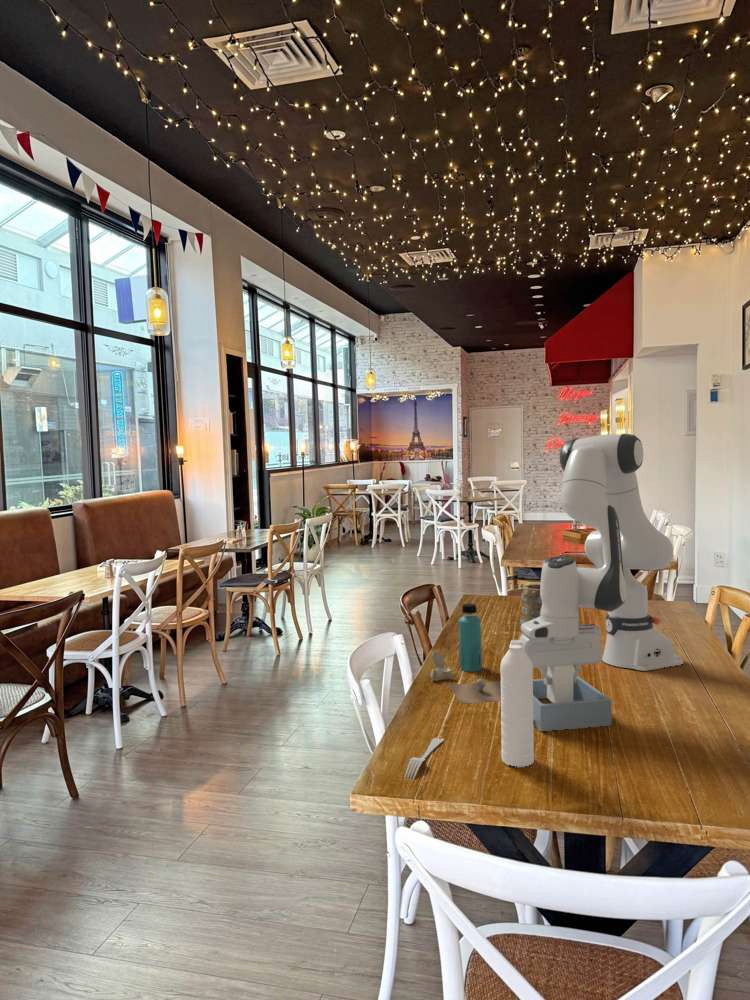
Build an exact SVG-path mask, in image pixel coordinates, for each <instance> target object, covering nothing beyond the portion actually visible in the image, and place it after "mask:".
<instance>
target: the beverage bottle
mask: <svg viewBox="0 0 750 1000" xmlns="http://www.w3.org/2000/svg"><path fill="white" fill-rule="evenodd" d="M461 607H462V609H461V613H462V614H463V615H462V616H460V618H459V619H458V645H459V646H458V650H459V652H458V655H459V658H458V659H459V660H458V661H459V668H460V670H462V671H463V672H468V673H469V672H470V673H473V672H479V671H481V670H482V668H483V653H482V649H483V646H482V631H481V629H482V627H481V625H482V624H481V621H482V620H481V619H480V617H478V616H477V615H475V613H477V605H476V604H475V603H464V604H462V606H461ZM464 614H465V615H464Z"/></svg>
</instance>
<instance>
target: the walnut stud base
mask: <svg viewBox="0 0 750 1000" xmlns="http://www.w3.org/2000/svg"><path fill="white" fill-rule="evenodd" d="M447 687H448V688H449V689H450V690H451V692H452V693H453V694H454V696H455V697H456V698H457V699H458V701H459V703H460V704H461V705H465V704H467V705H469V704H479V703H490V702H501V682H500V681H499V680H496V681H495V680H494V681H493V680H491V681H485V680H484V679H482V678H478V679H477V680H476V681H475V682H467V683H457V684H456V683H455V684H447Z"/></svg>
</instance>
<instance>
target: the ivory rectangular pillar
mask: <svg viewBox="0 0 750 1000" xmlns="http://www.w3.org/2000/svg"><path fill="white" fill-rule="evenodd" d="M573 668H574V666H573V665H560V666H553V667H548V671H546V673H547V675H548V676H550V677H552V685H547V698H546V699H547V700H549V701H550V703H561V702H573Z"/></svg>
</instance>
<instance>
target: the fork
mask: <svg viewBox="0 0 750 1000" xmlns="http://www.w3.org/2000/svg"><path fill="white" fill-rule="evenodd" d="M439 738H440V737H439ZM439 738H438V737H434V738H432V739H431V741H430V743H429V745H428V747H427V749H426V751H425V752H424V753H423V754H422V756H421V757H415V756H414V757H411V758H410V759H409V762H408V764H407V768H406V771H405V774H404V779H407V780H412V781H414V780H415V778H416V775H417V773H418V771H419V769H420V767H421V766H422V764H423V762H424V761H426V760H427V757H428V756H430V754H431V753H432V752H433V751H434V750H435V749H436V748H437V747H438V746H439V745H441V743H443V742H444V741H445V739H444V738H441V739H439ZM406 777H407V778H406Z"/></svg>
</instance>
